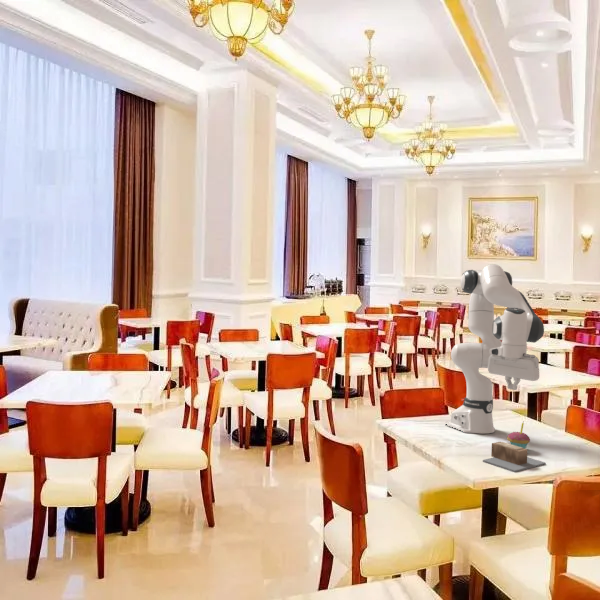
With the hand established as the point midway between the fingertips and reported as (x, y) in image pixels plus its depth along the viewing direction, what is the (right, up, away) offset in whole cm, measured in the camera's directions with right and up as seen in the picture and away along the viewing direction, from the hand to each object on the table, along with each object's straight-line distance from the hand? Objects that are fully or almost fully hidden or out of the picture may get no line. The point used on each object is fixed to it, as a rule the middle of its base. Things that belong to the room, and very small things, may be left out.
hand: (512, 389), depth 225 cm
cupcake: (+8, -27, +17) cm, 33 cm away
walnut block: (-4, -24, +6) cm, 25 cm away
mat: (+1, -27, 0) cm, 27 cm away
